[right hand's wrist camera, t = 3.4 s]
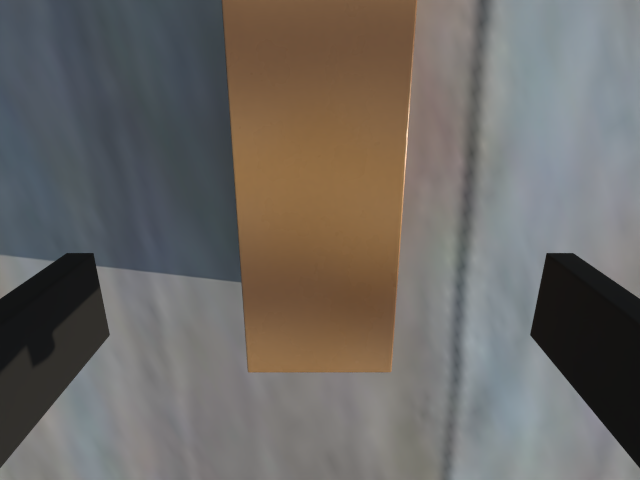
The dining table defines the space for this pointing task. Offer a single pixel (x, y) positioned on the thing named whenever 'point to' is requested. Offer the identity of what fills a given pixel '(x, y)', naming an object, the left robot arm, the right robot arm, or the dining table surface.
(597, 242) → the dining table surface
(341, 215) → the post
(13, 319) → the right robot arm
